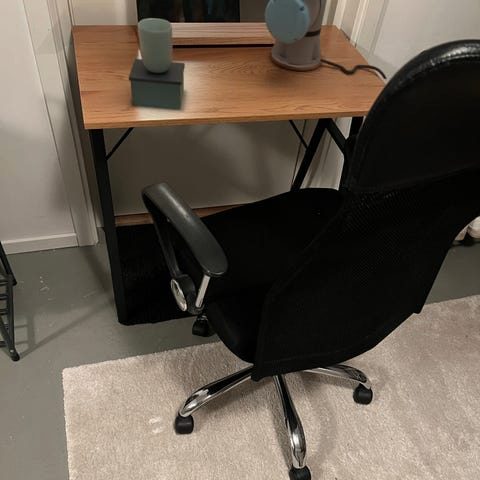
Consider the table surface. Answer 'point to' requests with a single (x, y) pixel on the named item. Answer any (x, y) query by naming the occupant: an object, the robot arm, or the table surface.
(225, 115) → the table surface
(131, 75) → the container
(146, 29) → the cup
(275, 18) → the robot arm
